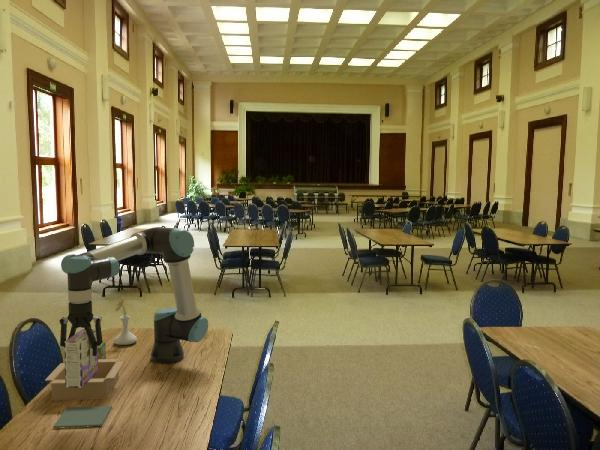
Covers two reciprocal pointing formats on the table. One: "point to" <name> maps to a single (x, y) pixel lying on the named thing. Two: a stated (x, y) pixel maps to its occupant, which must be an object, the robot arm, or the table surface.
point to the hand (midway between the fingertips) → (82, 364)
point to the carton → (94, 387)
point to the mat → (83, 416)
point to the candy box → (79, 360)
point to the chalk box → (102, 351)
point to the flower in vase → (124, 328)
